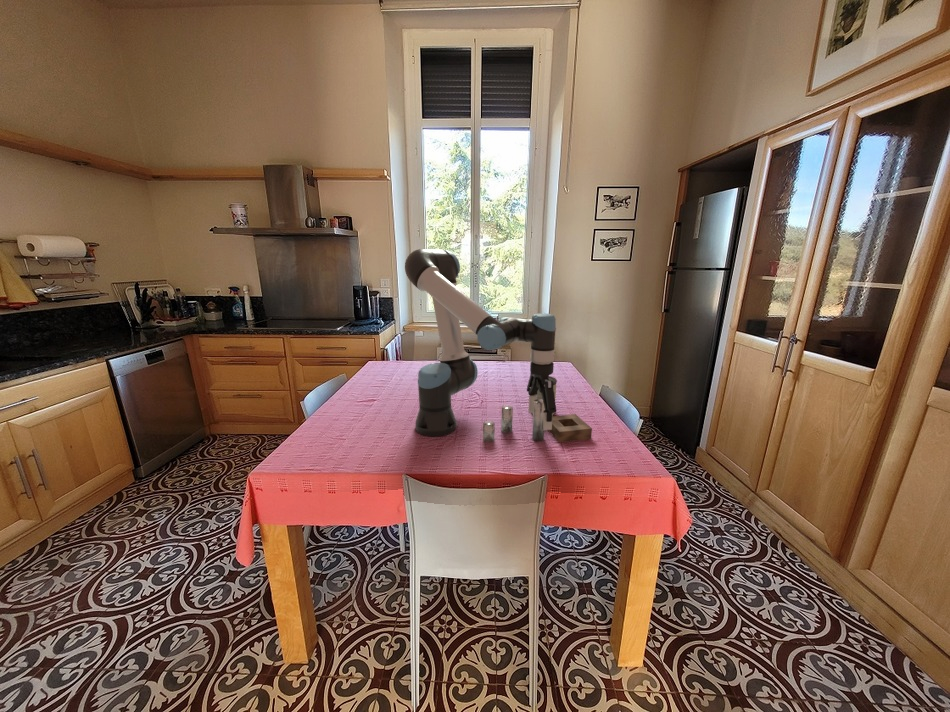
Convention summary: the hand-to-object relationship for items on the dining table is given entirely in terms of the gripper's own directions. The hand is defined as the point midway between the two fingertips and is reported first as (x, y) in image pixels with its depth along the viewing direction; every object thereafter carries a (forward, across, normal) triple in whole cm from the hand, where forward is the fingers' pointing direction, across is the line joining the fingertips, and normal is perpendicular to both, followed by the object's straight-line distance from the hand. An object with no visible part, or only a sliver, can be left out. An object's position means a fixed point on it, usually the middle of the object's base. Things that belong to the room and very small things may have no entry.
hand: (539, 420), depth 121 cm
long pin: (+7, 0, 0) cm, 7 cm away
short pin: (+7, +3, +17) cm, 19 cm away
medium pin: (+7, +8, +9) cm, 14 cm away
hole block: (+7, +2, -12) cm, 14 cm away
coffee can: (+7, +21, -10) cm, 24 cm away
